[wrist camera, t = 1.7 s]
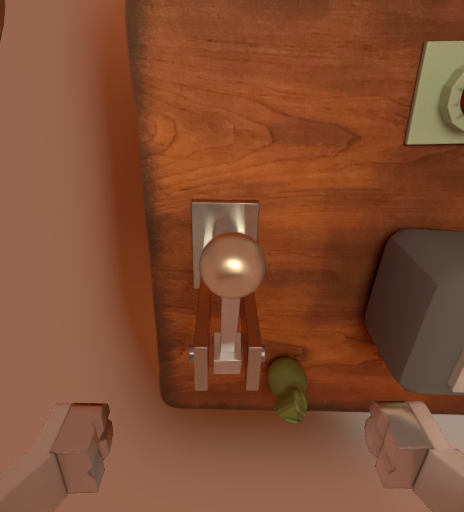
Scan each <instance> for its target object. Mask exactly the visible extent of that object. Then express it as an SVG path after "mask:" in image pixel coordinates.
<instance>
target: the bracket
mask: <svg viewBox="0 0 464 512" xmlns="http://www.w3.org/2000/svg"><path fill="white" fill-rule="evenodd" d="M258 218H259V201H258V200H210V199H192V240H193V278H194V289H199V297H198V308H197V318H196V329H195V340H194V344H190V345H189V362H190V363H194V374H195V391H207V390H208V371H209V345H210V320H211V294H212V291H211V290H209V289H208V287H207V286H206V285H205V283H204V282H203V280H202V278H201V275H200V270H199V261H200V256H201V253H202V251H203V249H204V247H205V246H206V245H207V243H208V242H209V241H210V240H211V239H213V238H214V237H216V236H218V235H220V234H222V233H226V232H239V233H243V234H246V235H248V236H250V237H251V238H253V239H254V240H255V241H256V242H257V233H258ZM240 319H241V331H242V344H243V357H244V370H245V383H246V390H259V380H260V368H261V363H264V362H265V357H266V352H265V345H262V343H261V337H260V330H259V323H258V316H257V309H256V302H255V296H254V292H252V293H251V294H249V295H247V296H245V297H242V298H240Z"/></svg>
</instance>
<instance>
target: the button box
mask: <svg viewBox="0 0 464 512" xmlns="http://www.w3.org/2000/svg"><path fill="white" fill-rule="evenodd" d="M463 92H464V41H430V42H424V46H423V51H422V56H421V61H420V66H419V72H418V77H417V82H416V87H415V92H414V97H413V102H412V107H411V112H410V117H409V122H408V127H407V132H406V137H405V142H404V143H405V144H407V145H410V144H460V143H464V111H463V109H462V106H461V98H462V95H463Z"/></svg>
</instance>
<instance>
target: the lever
mask: <svg viewBox="0 0 464 512" xmlns="http://www.w3.org/2000/svg"><path fill="white" fill-rule="evenodd" d="M199 270H200V275H201V278H202V280H203V282H204V283H205V285H206V286H207V287H208V289H209V290H211V291H212V292H213V293H215V294H216V295H218V296H220V297H221V332H214V333H213V374H240V372H241V365H242V338H241V332H237V326H238V316H239V306H240V298H242V297H245V296H247V295H249V294H251V293H252V292H254V291H255V290H256V289H257V288H258V286H259V285H260V284H261V282H262V280H263V278H264V275H265V271H266V260H265V255H264V253H263V250H262V249H261V247H260V245H259V244H258V243H257V242H256V241H255V240H254V239H253V238H251V237H250V236H248V235H246V234H243V233H239V232H226V233H222V234H220V235H218V236H216V237H214V238H213V239H211V240H210V241H209V242H208V243H207V245H206V246H205V247H204V249H203V251H202V253H201V256H200V261H199Z"/></svg>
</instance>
